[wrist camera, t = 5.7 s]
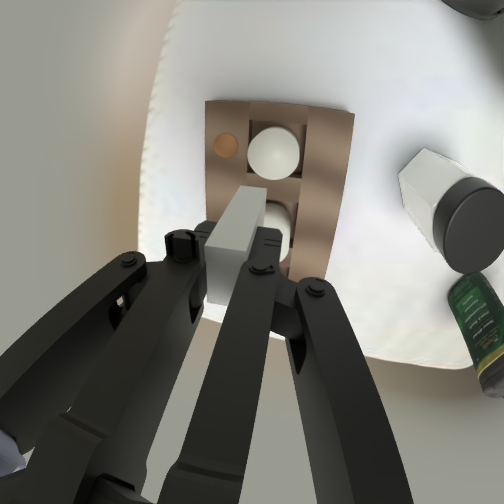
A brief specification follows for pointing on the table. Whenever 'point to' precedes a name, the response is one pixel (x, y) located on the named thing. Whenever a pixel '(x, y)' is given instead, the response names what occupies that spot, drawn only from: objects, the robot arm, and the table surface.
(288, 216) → the button middle
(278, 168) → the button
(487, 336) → the coffee jar
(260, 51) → the table surface
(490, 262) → the jar
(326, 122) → the button board
